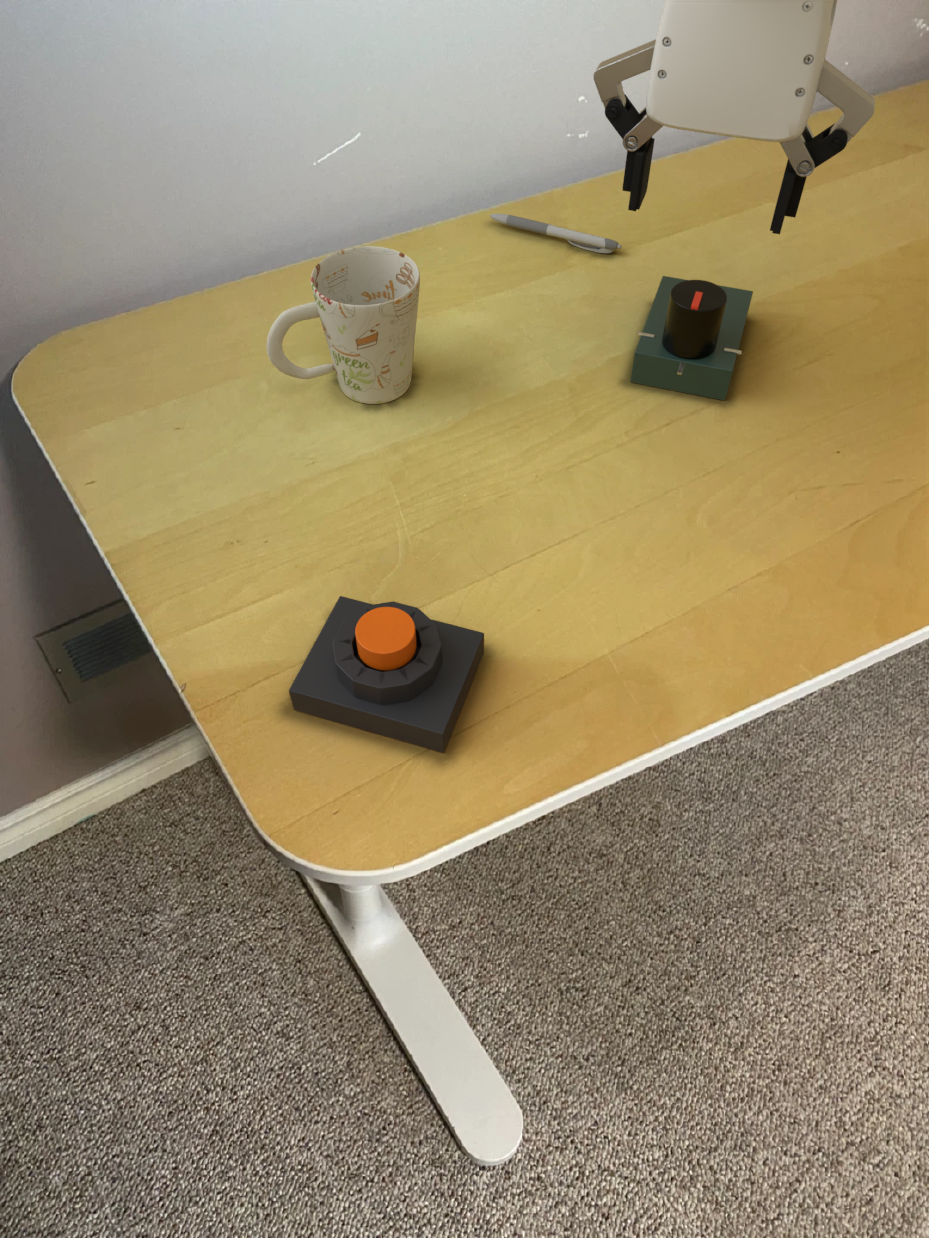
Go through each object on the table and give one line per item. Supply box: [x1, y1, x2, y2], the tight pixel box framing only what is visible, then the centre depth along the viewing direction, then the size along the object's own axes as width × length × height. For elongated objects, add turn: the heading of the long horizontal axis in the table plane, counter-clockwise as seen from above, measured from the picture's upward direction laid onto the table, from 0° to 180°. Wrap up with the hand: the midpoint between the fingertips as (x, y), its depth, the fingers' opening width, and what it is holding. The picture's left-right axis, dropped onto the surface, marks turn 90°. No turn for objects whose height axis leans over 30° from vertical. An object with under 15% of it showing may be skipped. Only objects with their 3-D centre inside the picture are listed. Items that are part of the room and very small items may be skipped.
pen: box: [489, 213, 623, 254], centre depth 95 cm, size 1×14×1 cm, turn 64°
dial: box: [662, 279, 727, 359], centre depth 77 cm, size 4×4×5 cm
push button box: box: [288, 595, 485, 754], centre depth 60 cm, size 10×8×4 cm
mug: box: [266, 245, 421, 405], centre depth 77 cm, size 8×13×10 cm, turn 112°
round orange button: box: [355, 607, 416, 670], centre depth 58 cm, size 4×4×2 cm
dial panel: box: [629, 275, 754, 401], centre depth 82 cm, size 14×9×3 cm, turn 162°
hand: (706, 212), depth 66 cm, fingers open, 9 cm apart
